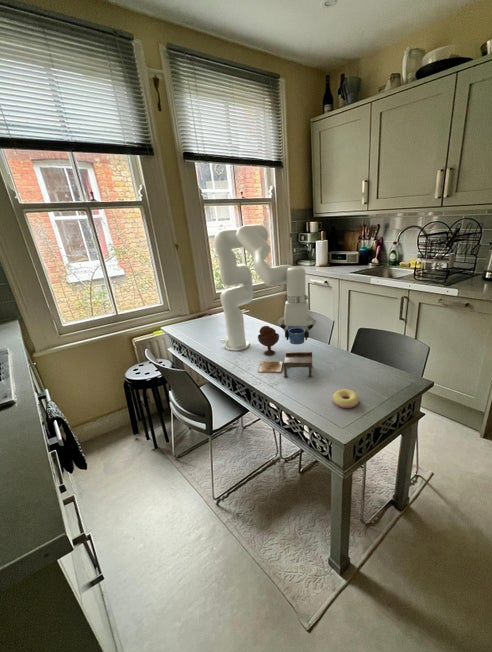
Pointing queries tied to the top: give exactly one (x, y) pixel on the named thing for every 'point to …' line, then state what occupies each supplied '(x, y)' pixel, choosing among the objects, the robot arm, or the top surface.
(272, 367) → the mat
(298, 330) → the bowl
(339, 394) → the donut
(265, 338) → the ice cream bowl
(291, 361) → the stand
